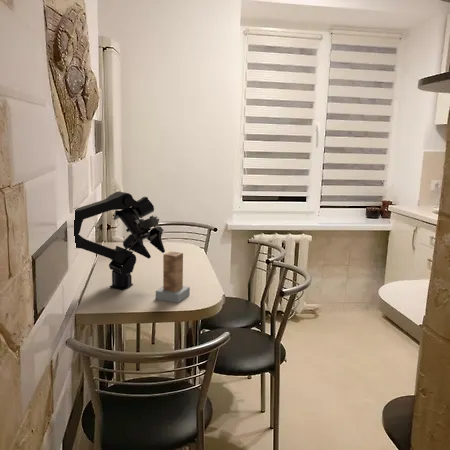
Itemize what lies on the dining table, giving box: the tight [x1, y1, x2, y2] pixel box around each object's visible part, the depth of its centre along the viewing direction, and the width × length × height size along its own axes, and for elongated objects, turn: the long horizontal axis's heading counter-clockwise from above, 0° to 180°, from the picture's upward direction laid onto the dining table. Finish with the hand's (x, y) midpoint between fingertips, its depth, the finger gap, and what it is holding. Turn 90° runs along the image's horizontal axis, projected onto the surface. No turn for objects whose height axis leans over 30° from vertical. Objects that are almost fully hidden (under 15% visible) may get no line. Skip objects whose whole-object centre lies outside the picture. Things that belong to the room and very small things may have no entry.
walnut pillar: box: [162, 250, 184, 292], centre depth 159 cm, size 5×5×13 cm
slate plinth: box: [155, 285, 191, 304], centre depth 161 cm, size 9×9×3 cm
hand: (157, 255), depth 165 cm, fingers open, 9 cm apart
